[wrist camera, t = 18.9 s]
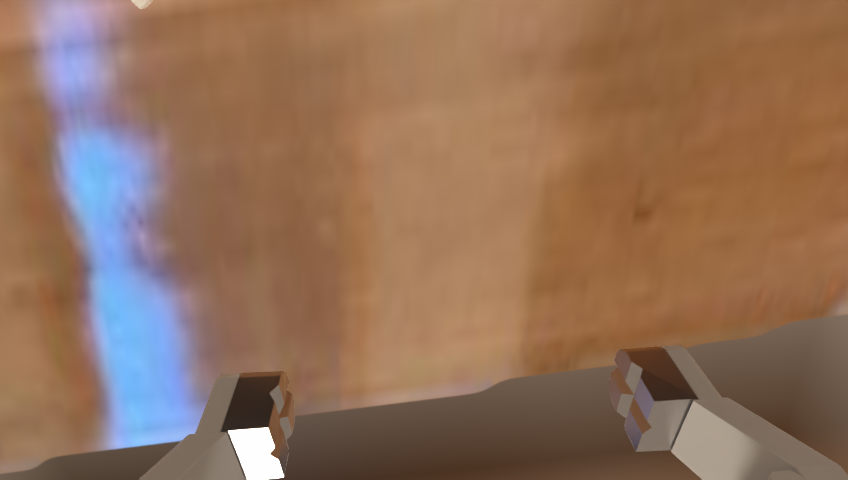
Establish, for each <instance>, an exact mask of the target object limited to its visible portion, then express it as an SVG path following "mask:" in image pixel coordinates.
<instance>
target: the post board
mask: <svg viewBox="0 0 848 480" xmlns="http://www.w3.org/2000/svg"><path fill="white" fill-rule="evenodd" d="M131 1H132V2H133V3H134V4H135V5H136V6H137V7H138V8H139V9H143V8H147V7H148V6H149V5H150V3H151V2H152V1H153V0H131Z"/></svg>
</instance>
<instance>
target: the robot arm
mask: <svg viewBox="0 0 848 480" xmlns="http://www.w3.org/2000/svg"><path fill="white" fill-rule="evenodd" d="M615 362H616V364H617V366H618V368H616V369H615V370H614V371H613V372H612V373H611V376H610V381H609V389H610V396H611V399H612V403H613V405H614V407H615V409H616V411H617V412H618V413H620V414H621V415H622V416H624V417H625V418H626V422H625V426H624V428H625V430H626V432H627V434H628V436H629V438H630V440H631V442H632V444H633V446H634V448H635V450H636V451H660V450H672V451H671V452H672V453H673V454H674V455H675V456H676V457H678V458H679V459H680V460H681V461H682V462H683V463H684V464H685V465H686V466H688V467H689V468H690V469H691V470H692V471H693V472H694V473H696V474H697V475H698V476H699V477H700V478H701V479H702V480H848V475H847V474H846V473H845V471H844V470H843V469H842V468H841V467H840V466H839V465H838V464H836V463H835V462H833V461H831V460H830V459H828V458H827V457H825V456H823V455H822V454H820V453H818V452H817V451H815V450H813V449H811V448H810V447H808V446H807V445H805V444H803V443H802V442H800V441H799V440H797V439H795V438H794V437H792V436H790V435H789V434H787V433H785V432H784V431H782V430H780V429H779V428H777V427H775V426H773V425H772V424H770V423H769V422H767V421H766V420H764V419H762V418H761V417H759V416H757V415H756V414H754V413H752V412H750V411H749V410H747V409H746V408H744V407H742V406H741V405H739V404H738V403H736V402H734V401H733V400H731V399H729V398H722V397H721V396H720V395H719V393H718V392H717V391H716V389H715V388H714V387H713V385H712V384H711V382H710V381H709V380H708V378H707V377H706V376H705V374H704V373H703V371H702V370H701V369H700V368H699V366H698V365H697V364H696V362H695V361H694V359H693V358H692V357H691V355H690V354H689V352H688V351H687V350H686V348H684V347H683V346H681V345H677V346H662V347H646V348H633V349H620V350H619V351H618V352H617V354H616V358H615ZM288 384H289V380H288V376H287V373H286V372H284V371H280V372H254V373H236V374H221V375H220V376H219V377H218V379H217V380H216V382H215V384H214V387H213V390H212V392H211V395H210V397H209V400H208V402H207V405H206V408H205V410H204V413H203V415H202V418H201V420H200V423H199V425H198V428H197V431H196V433H195V434H190V435H188V436H187V437H185V438H184V439H183V440H182V441H181V442H180V443H179V444H178V445H177V446H176V447H174V449H172V450H171V451H170V452H169V453H168V454H167V455H165V456H164V457H163V458H162V459H161V460H160V461H159V462H158V463H157V464H155V465H154V466H153V467H152V468H151V469H150V470H149V471H148V472H147V473H145V474H144V475H143V476H142V477H141V478H140V479H139V480H261V479H270V478H280V477H284V473H285V468H286V463H287V458H288V453H289V449H288V445H287V442H286V439H288V438H289V436H290V435H291V434H292V432H293V427H294V416H295V407H294V399H293V395H292V393H290V392H289V391H288V390H287V388H288Z"/></svg>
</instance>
